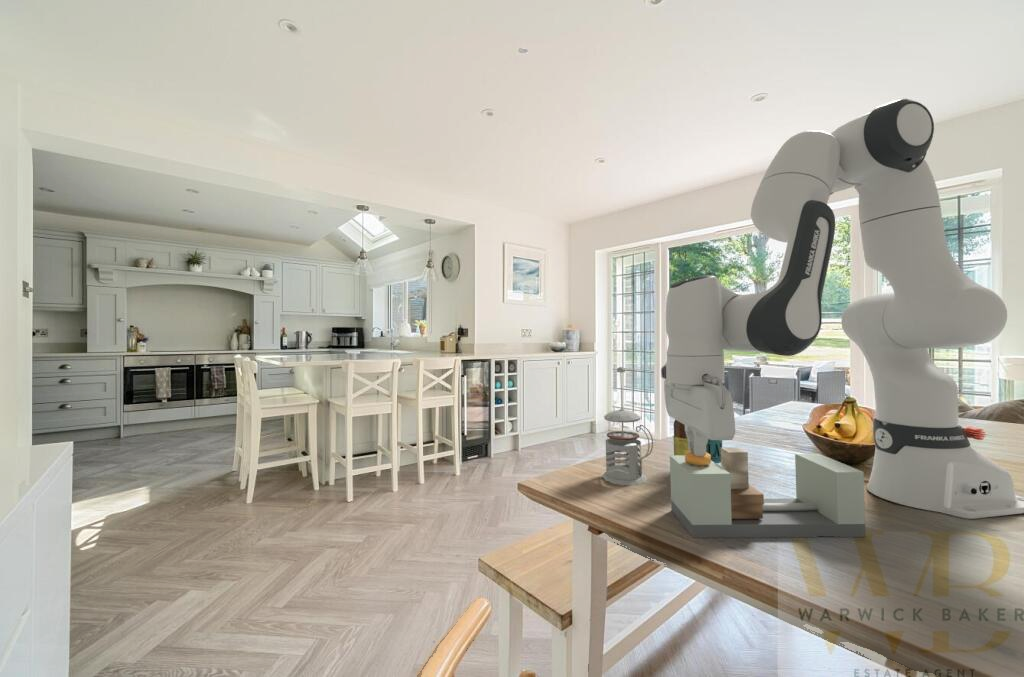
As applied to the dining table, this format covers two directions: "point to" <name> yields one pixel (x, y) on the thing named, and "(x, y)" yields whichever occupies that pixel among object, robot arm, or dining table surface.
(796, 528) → the rail bench
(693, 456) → the button
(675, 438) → the sauce bottle
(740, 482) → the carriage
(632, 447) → the french press
